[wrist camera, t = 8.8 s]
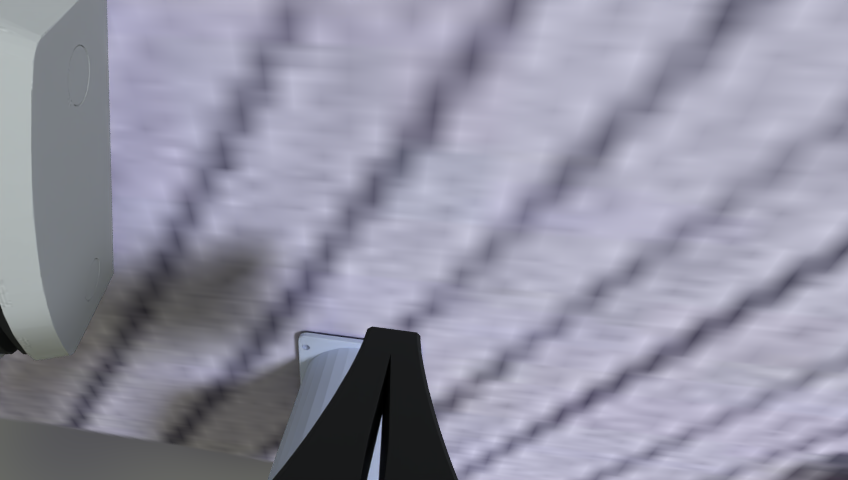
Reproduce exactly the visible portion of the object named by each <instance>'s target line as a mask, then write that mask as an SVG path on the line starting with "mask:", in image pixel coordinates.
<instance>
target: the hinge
mask: <svg viewBox="0 0 848 480" xmlns="http://www.w3.org/2000/svg"><path fill="white" fill-rule="evenodd" d="M113 274H114V269H113V229H112V189H111V149H110V109H109V70H108V30H107V0H0V358H1V357H3V356H4V354H12V353H14V352H15V351H17V350H19V351H21V352H22V353H23V354H28V355H29V356H30V357H31V358H32V359H34V360H43V359H50V358H56V357H62V356H68V355H72V354H73V353H74V352H75V351H76V349H77V347H78V345H79V343H80V341H81V339H82V337H83V335H84V333H85V331H86V328H87V326H88V324H89V322H90V320H91V318H92V316H93V314H94V312H95V310H96V308H97V306H98V304H99V302H100V300H101V298H102V296H103V294H104V292H105V290H106V288H107V286H108V284H109V282H110V280H111V278H112V276H113Z"/></svg>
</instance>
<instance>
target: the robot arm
mask: <svg viewBox="0 0 848 480" xmlns="http://www.w3.org/2000/svg"><path fill="white" fill-rule="evenodd" d="M298 348H299V366H300V385H301V386H300V389H299V392H298V395H297V398H296V401H295V403H294V406H293V409H292V412H291V415H290V418H289V420H288V423H287V426H286V429H285V432H284V435H283V437H282V440H281V443H280V446H279V449H278V452H277V454H276V457H275V460H274V463H273V466H272V469H271V471H270V474H269V477H268V480H458V478H457V476H456V473H455V471H454V468H453V466H452V463H451V460H450V457H449V455H448V452H447V449H446V446H445V443H444V440H443V437H442V434H441V431H440V428H439V425H438V421H437V418H436V415H435V411H434V407H433V404H432V400H431V396H430V393H429V389H428V384H427V380H426V375H425V370H424V365H423V359H422V350H421V342H420V335H419V334H418V333H416V332H409V331H401V330H394V329H386V328H379V327H370V328H368V329H367V332H366V335H365V338H364V340H361V339H353V338H345V337H338V336H330V335H322V334H315V333H302V334H301V335H300V336H299V339H298Z"/></svg>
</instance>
